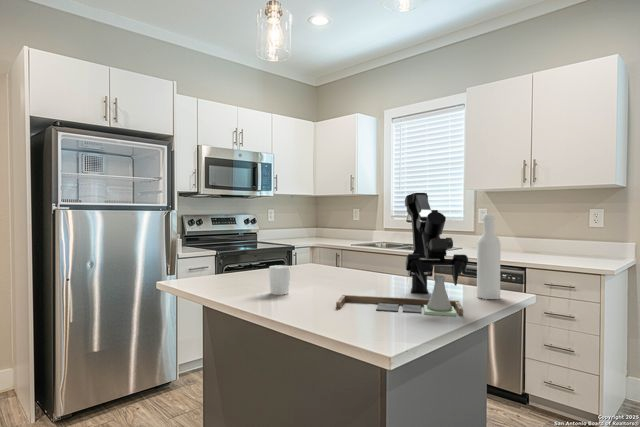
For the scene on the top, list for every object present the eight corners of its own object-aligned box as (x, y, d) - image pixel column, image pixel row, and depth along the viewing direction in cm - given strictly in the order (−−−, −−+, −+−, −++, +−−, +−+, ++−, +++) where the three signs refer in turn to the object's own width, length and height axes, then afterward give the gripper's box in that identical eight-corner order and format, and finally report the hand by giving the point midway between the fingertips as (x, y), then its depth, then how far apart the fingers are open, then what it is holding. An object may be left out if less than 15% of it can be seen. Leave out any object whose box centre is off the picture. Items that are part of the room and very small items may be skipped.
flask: (456, 310, 126) (457, 277, 126) (438, 312, 122) (438, 278, 122) (439, 305, 132) (440, 274, 132) (422, 307, 129) (422, 275, 129)
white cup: (278, 290, 160) (278, 264, 160) (294, 293, 155) (294, 266, 155) (264, 293, 153) (264, 266, 153) (280, 296, 149) (280, 268, 149)
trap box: (342, 300, 142) (342, 294, 142) (458, 306, 133) (458, 300, 133) (336, 308, 130) (336, 302, 130) (463, 316, 122) (463, 309, 122)
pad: (423, 307, 132) (423, 304, 132) (453, 309, 131) (453, 306, 131) (424, 314, 124) (424, 311, 124) (456, 316, 122) (456, 313, 122)
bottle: (483, 300, 144) (483, 214, 144) (472, 295, 152) (473, 214, 152) (504, 299, 145) (505, 214, 145) (493, 295, 153) (494, 214, 153)
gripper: (407, 228, 131) (413, 268, 120) (466, 229, 130) (478, 268, 120) (403, 251, 139) (408, 289, 128) (459, 251, 138) (469, 290, 127)
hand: (440, 284), depth 126 cm, fingers open, 9 cm apart
